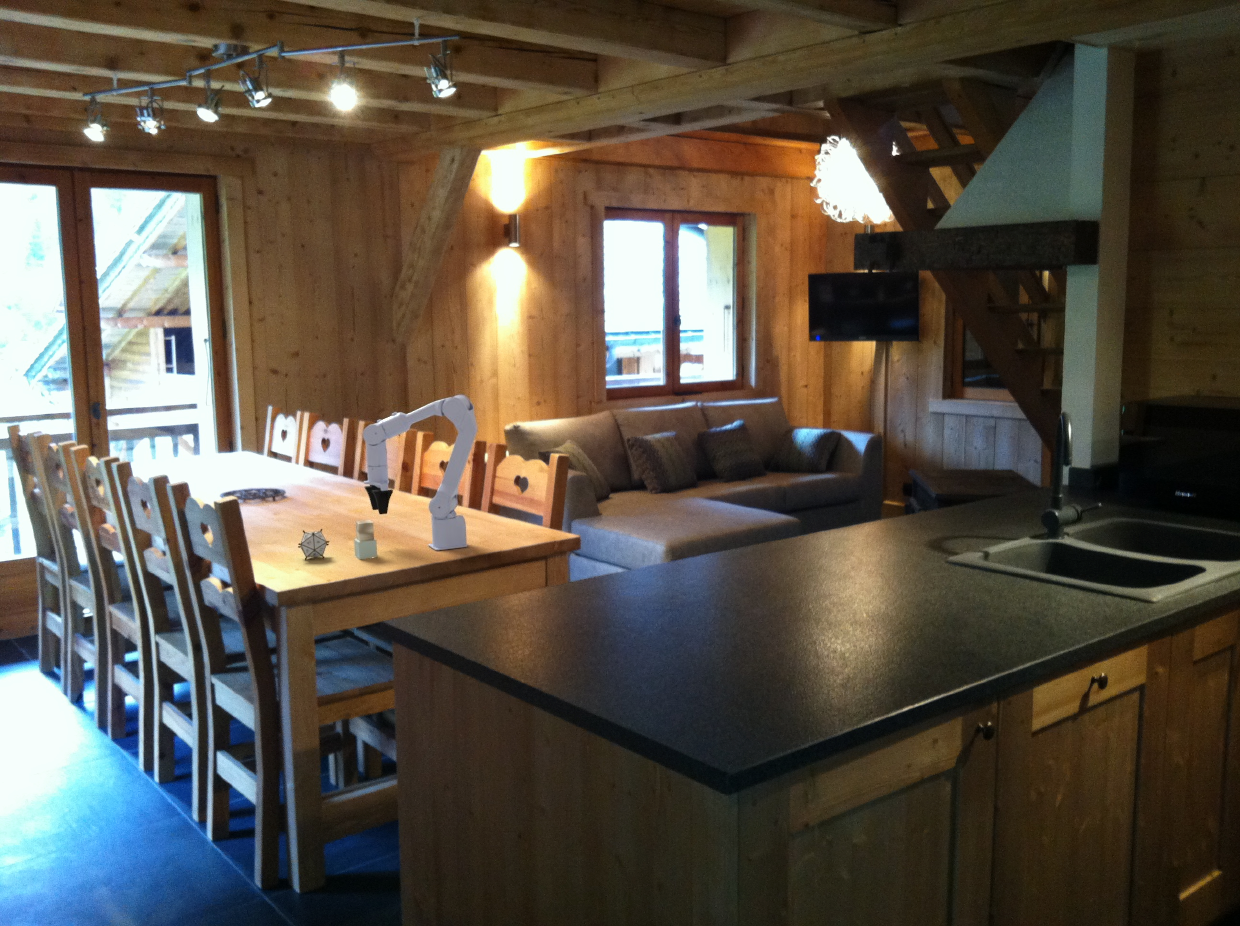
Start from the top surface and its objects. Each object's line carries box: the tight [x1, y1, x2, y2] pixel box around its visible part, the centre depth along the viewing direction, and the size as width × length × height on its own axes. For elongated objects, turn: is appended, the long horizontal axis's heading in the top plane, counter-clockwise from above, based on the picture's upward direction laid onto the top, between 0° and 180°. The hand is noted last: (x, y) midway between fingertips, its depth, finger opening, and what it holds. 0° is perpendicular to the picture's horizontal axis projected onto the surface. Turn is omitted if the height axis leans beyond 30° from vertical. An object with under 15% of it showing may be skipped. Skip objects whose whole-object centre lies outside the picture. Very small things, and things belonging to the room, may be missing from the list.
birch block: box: [355, 519, 375, 542], centre depth 302 cm, size 4×4×5 cm
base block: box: [353, 538, 378, 561], centre depth 303 cm, size 5×5×5 cm
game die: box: [297, 528, 330, 561], centre depth 302 cm, size 9×8×10 cm
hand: (379, 511), depth 314 cm, fingers open, 7 cm apart
